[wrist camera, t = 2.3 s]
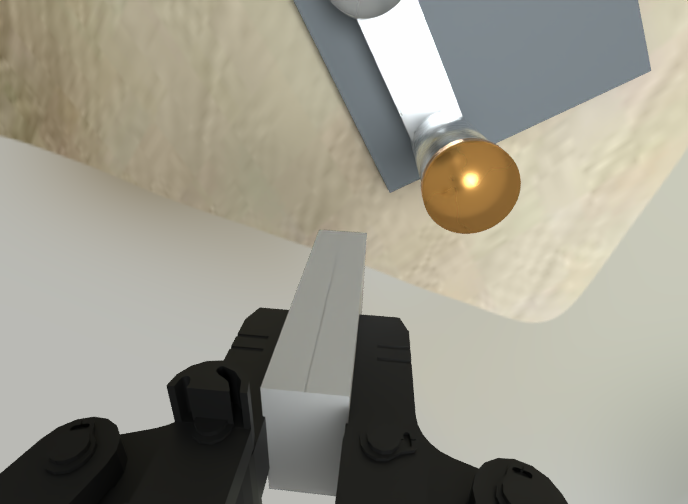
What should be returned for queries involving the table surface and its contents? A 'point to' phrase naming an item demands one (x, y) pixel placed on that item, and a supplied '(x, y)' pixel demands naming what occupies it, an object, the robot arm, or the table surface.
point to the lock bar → (436, 121)
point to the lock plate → (486, 65)
